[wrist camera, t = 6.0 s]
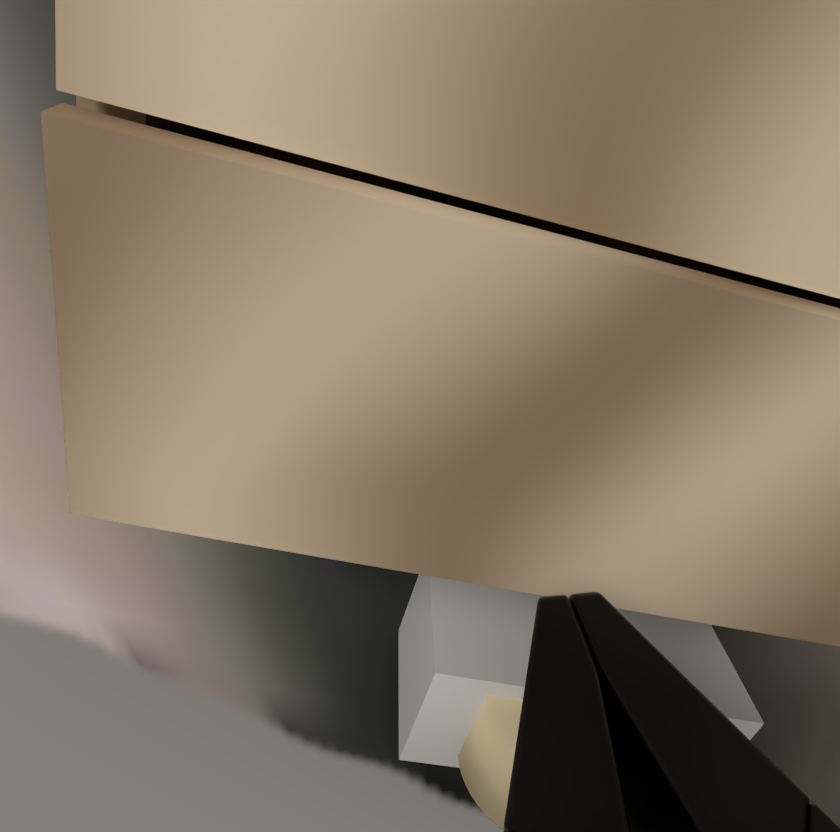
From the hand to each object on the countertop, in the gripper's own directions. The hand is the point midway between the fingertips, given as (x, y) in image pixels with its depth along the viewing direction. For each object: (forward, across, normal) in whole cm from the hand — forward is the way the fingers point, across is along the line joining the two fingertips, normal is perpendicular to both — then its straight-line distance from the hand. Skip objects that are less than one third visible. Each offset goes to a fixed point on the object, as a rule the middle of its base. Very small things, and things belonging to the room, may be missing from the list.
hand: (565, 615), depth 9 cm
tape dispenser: (+8, -2, +9) cm, 13 cm away
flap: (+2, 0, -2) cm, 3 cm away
